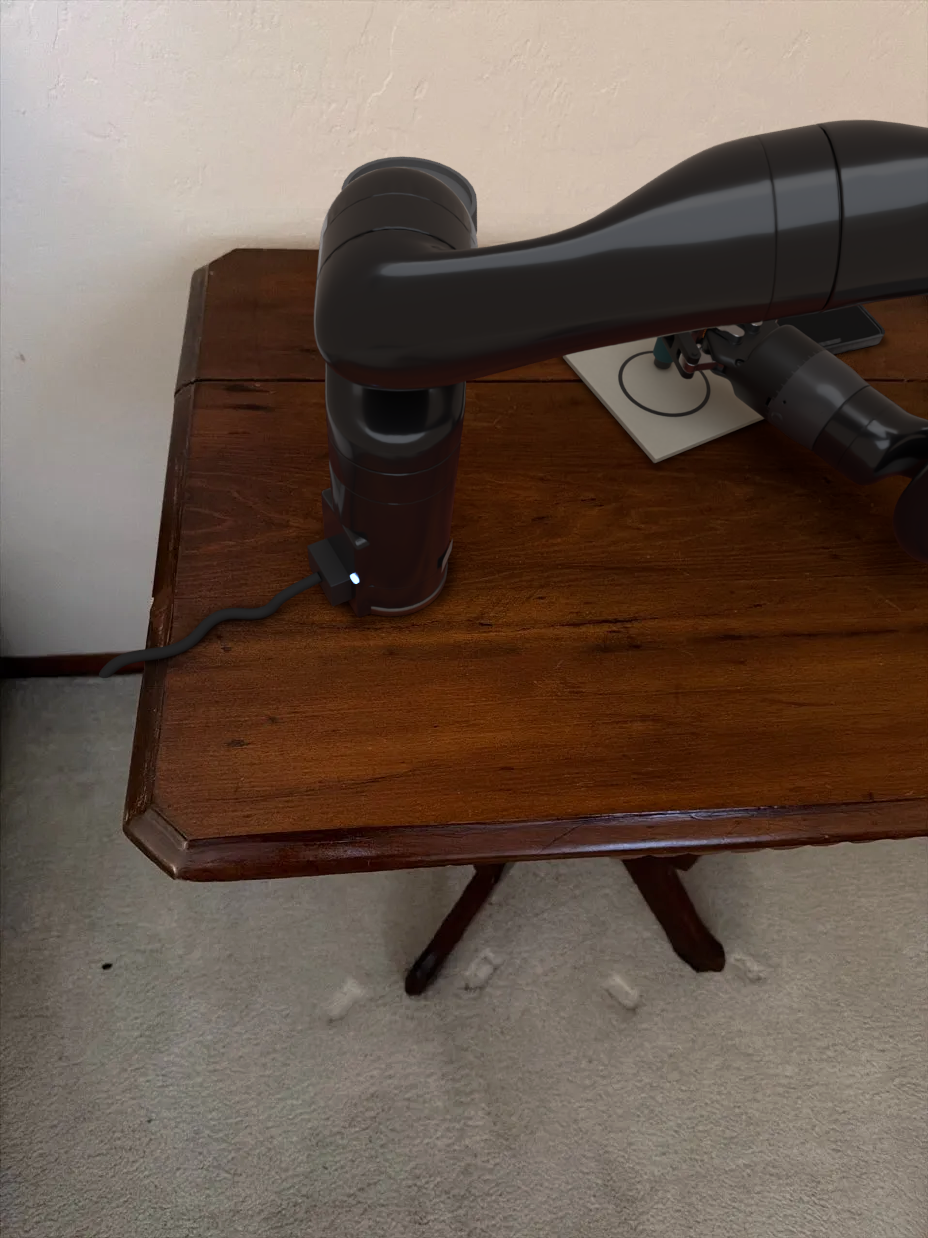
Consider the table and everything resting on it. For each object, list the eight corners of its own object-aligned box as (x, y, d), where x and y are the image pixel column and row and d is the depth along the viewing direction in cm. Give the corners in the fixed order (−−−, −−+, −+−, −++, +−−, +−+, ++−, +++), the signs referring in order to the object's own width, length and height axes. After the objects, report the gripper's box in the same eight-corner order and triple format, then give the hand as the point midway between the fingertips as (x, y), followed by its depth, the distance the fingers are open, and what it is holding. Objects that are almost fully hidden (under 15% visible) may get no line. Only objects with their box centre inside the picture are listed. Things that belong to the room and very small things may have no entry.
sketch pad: (654, 463, 83) (656, 458, 83) (562, 357, 90) (563, 352, 90) (765, 418, 88) (767, 413, 87) (669, 320, 95) (671, 315, 94)
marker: (678, 372, 89) (719, 259, 78) (652, 372, 89) (690, 259, 78) (672, 354, 90) (711, 240, 80) (646, 354, 90) (683, 240, 79)
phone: (734, 313, 95) (848, 289, 99) (731, 321, 96) (843, 297, 99) (773, 361, 91) (890, 334, 95) (769, 370, 92) (885, 343, 96)
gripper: (866, 325, 78) (720, 224, 84) (767, 389, 72) (618, 276, 78) (830, 389, 84) (696, 291, 90) (736, 452, 78) (600, 343, 85)
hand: (661, 285), depth 84 cm, fingers closed on marker, 2 cm apart
